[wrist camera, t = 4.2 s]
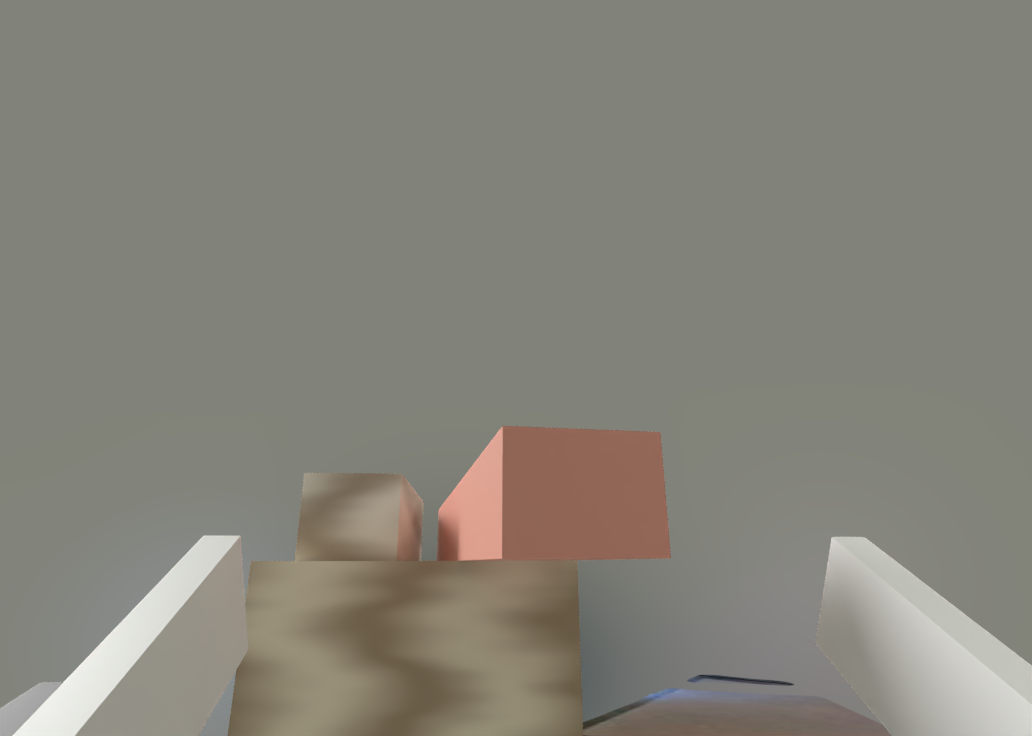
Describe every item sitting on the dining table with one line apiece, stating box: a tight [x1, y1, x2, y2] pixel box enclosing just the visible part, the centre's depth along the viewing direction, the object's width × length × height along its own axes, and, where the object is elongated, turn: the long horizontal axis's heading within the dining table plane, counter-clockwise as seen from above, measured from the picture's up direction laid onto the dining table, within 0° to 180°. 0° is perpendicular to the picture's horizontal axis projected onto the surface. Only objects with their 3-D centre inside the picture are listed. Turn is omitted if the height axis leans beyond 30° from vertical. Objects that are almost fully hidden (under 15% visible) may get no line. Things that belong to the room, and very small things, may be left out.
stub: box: [437, 426, 671, 561], centre depth 25 cm, size 4×23×3 cm, turn 11°
